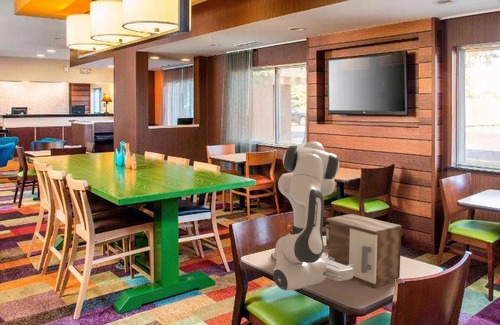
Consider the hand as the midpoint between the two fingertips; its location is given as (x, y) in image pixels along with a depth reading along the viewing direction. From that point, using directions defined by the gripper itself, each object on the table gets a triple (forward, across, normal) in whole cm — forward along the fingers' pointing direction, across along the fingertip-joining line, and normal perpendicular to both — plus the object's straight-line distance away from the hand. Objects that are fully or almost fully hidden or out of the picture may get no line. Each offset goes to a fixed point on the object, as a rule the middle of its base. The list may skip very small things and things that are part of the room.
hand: (342, 263), depth 174 cm
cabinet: (+24, +11, +12) cm, 28 cm away
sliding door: (+14, +4, +10) cm, 18 cm away
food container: (+42, +44, +12) cm, 62 cm away
